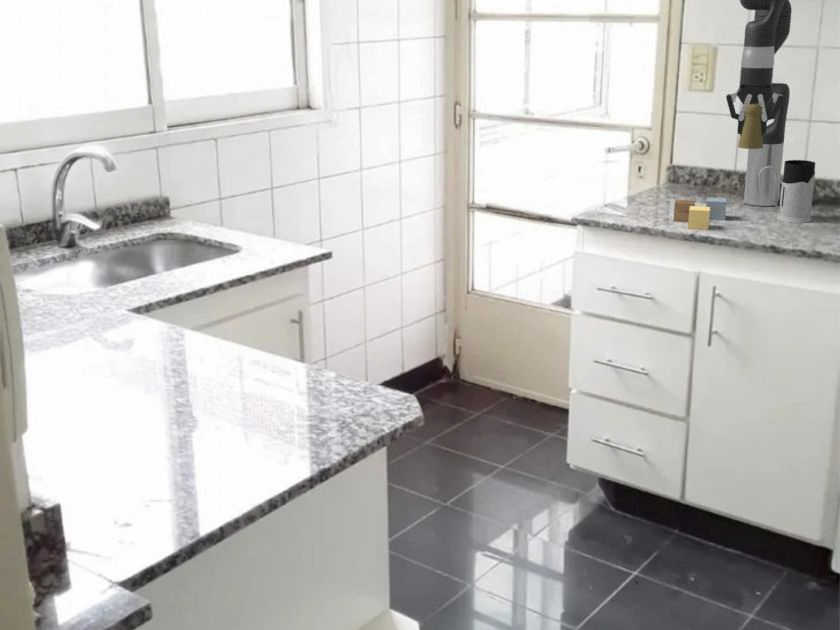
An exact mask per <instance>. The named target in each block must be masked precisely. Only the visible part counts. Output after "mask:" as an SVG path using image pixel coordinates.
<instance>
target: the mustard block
mask: <svg viewBox="0 0 840 630" xmlns="http://www.w3.org/2000/svg"><path fill="white" fill-rule="evenodd" d="M709 217H710V207H706V206H702V205H701V206H700V205H698V206H697V205H695V206H690V209H689V219H688V222H687V223H688V224H687V229H688V230H700V231H702V230H703V231H709V228H710V220H709Z"/></svg>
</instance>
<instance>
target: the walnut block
mask: <svg viewBox="0 0 840 630" xmlns="http://www.w3.org/2000/svg"><path fill="white" fill-rule="evenodd" d="M690 206H696V199H678V198H676V199H675V200H674V210H673V222H676V223H677V222H678V223H680V222H681V223H682V222H683V223H688V219H689V209H690Z"/></svg>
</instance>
